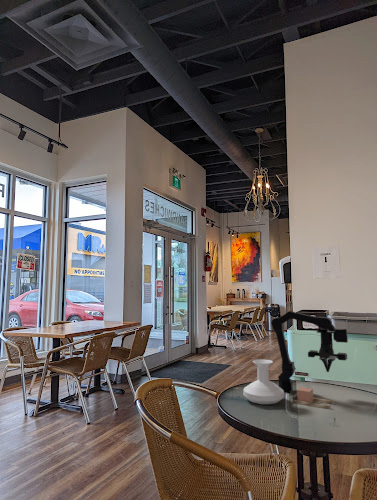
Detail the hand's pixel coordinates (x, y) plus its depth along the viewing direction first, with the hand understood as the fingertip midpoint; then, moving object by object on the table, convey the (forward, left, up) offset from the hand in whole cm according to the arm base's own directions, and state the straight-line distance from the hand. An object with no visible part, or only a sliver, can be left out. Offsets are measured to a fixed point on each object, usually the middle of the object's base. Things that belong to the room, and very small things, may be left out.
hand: (327, 371), depth 190 cm
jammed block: (-8, -17, -12) cm, 22 cm away
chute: (-4, -17, -12) cm, 21 cm away
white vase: (-26, -25, -12) cm, 38 cm away
